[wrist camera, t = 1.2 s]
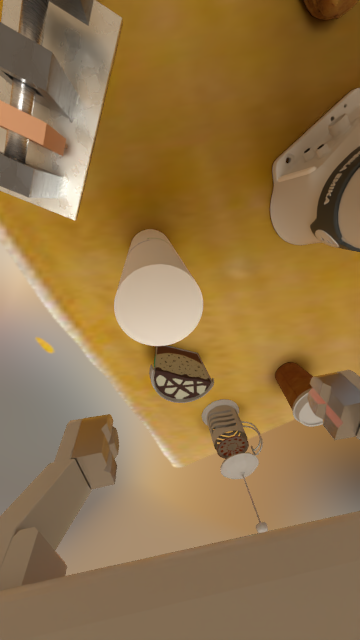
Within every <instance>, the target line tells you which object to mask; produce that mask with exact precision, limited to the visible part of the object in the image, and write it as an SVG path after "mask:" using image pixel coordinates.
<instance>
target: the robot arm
mask: <svg viewBox="0 0 360 640" xmlns="http://www.w3.org/2000/svg"><path fill="white" fill-rule="evenodd" d="M287 158H288V159H289V162H288V163H286V159H287ZM272 173H273V182H274V188H273V193H272V198H271V205H270V214H271V220H272V224H273V226H274V229H275V231H276V232H277V234H278V235H279V236H280V237H281V238H282V239H283V240H285V241H286V242H288V243H291V244H295V245H307V244H312V243H324V244H327V245H329V246H332V247H336V248H342V249H346V250H352V251H357V252H360V88H356V89H353V90H351V91H350V92H349V93H348V94H347V95H345V96H344V97H343V98H342V99H341V100H340V101H339V102H338V103H337V104H336V105H335V106H333V107H332V108H331V109H330V110H329V111H328V112H327V113H326V114H325V115H324V116H323V117H322V118H320V119H319V120H318V121H317V122H316V123H315V124H314V125H313V126H312V127H311V128H310V129H308V130H307V131H306V132H305V133H304V134H303V135H302V136H301V137H300V138H299V139H298V140H297V141H295V142H294V143H293V144H292V145H291V146H290V147H289V148H288V149H287V150H286V151H285V152H284V153H282V154H281V155H280V156H279V157H278V158H277V159H276V160H275V162H274V163H273V167H272ZM310 385H311V386H312V387H313V388H312V389H311V390H310V391H309V392H308V403H309V406H310V408H311V410H312V411H313V413H314V414H315V415H316V416H317V417H319V418H321V419H323V425H324V427H325V428H326V429H327V431H328V432H329V433H330V435H331V436H332V437H333V438H334V440H337V439H343V438H349V437H355V436H357V438H358V439H360V377H359V376H358V375H357V374H356V373H355V372H353V371H351V370H346V371H341V372H336V373H330V374H325V375H320V376H314V377H312V379H311V381H310ZM112 425H113V419H112V417H111V415H110V414H108V415H102V416H96V417H89V418H84V419H78V420H72V421H70V422H69V423H68V424H67V427H66V429H65V432H64V435H63V438H62V441H61V443H60V446H59V449H58V452H57V455H56V458H55V461H54V463H50V464H49V465H48V466H47V467H46V468H45V469H44V470H43V471H42V472H41V474H39V476H38V477H37V478H36V479H35V480H34V481H33V482H32V483H31V484H30V485H29V486H28V487H27V488H26V489H25V491H24V492H23V493H22V494H21V495H20V496H19V497H18V498H17V499H16V500H15V501H14V502H13V503H12V504H11V505H10V507H9V508H8V509H7V510H6V511H5V512H4V513H3V514H2V515H1V516H0V640H360V511H357V512H353V513H348V514H343V515H339V516H334V517H330V518H325V519H321V520H317V521H312V522H307V523H303V524H298V525H294V526H290V527H285V528H280V529H276V530H271V531H266V532H262V533H257V534H253V535H249V536H244V537H240V538H235V539H230V540H226V541H222V542H217V543H212V544H208V545H203V546H199V547H194V548H190V549H186V550H181V551H176V552H172V553H167V554H163V555H158V556H154V557H149V558H145V559H140V560H135V561H131V562H127V563H122V564H118V565H113V566H108V567H104V568H99V569H95V570H90V571H86V572H81V573H77V574H72V575H68V576H65V574H66V569H67V565H66V564H65V562H64V561H63V560H62V558H61V557H60V556H59V555H58V554H57V552H56V551H55V550H56V548H57V547H58V545H59V543H60V542H61V540H62V538H63V537H64V535H65V534H66V532H67V530H68V529H69V527H70V525H71V524H72V522H73V520H74V519H75V517H76V516H77V514H78V512H79V511H80V509H81V507H82V506H83V504H84V502H85V500H86V499H87V497H88V496H89V494H90V492H91V489H96V488H100V487H104V486H109V485H113V484H115V479H116V469H117V465H116V462H115V458H116V456H117V455H118V450H119V440H118V434H117V430H116V428H114V427H113V426H112Z"/></svg>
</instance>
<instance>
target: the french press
mask: <svg viewBox="0 0 360 640" xmlns="http://www.w3.org/2000/svg"><path fill="white" fill-rule="evenodd" d="M238 413H239V407H238V406H237V404H236V403H235V402H233V401H231V400H223V399H222V400H218V401H214V402H213V403H211V404H209V405H208V406H207V407H206V408H205V409H204V411H203V414H202V420H203V422H204V423H205V424H206V425H208V426H209V430H210V433H211V436H212V440H213V443H214V447H215V449H216V450H217V452H218V455H219V456H220V457H222V458H225V459H226V460H224V462H223V463H222V465H221V474H222V475H223V476H225V477H227V478H231V479H242V478H244V481H245V477H246V476H249V475H250V474H251V473H252V472H253V471H254V470H255V469H256V467H257V466H258V459H257V457H256V456H255V455H258V454H259V452H260V451H261V449H262V438H261V436H260V433H259V431H258V429H257V428H256V427H255V425H253V424H252V423H249V422H242V421H241V420H240V418H239V416H238ZM241 422H242V423H249V424H251V425H253V426H254V427H255V428H256V429H257V430H256V429H254V428H253V427H250V426H243V425H242V423H241ZM236 424H237V425H236ZM242 426H243V427H249V428H252V429H254V430H255V431H256V432H257V433H258V435H259V438H260V441H259V444H258V447H259V445H260V443H261V448H260V451H259V452H258V453H257V454H255V452H254V451H255V450H257V448H258V447H257V448H256V449H253V448H252V446H251V449H252V451H253V453H254V455H253V454H251V453H245V452H246V451H247V449H248V446H249V445H248V441H247V436H246V434H245V431H244V429H243V427H242ZM213 429H215V430H213ZM233 430H234V431H233ZM237 430H238V432H237V434H236V435H235V436H233V437H229V438H228V437H223V436H220V435H221V434H222V435H227V436H230V435H233V434H234V433H235V432H236V431H237ZM228 431H233V432H231V433H225V432H228ZM239 433H241V434H240V436H238V435H239ZM217 438H222V439H225V440H223V441H222V440H217ZM217 442H221V443H220V444H217ZM245 484H246V487H247V489H248V486H247V483H246V481H245ZM248 492H249V489H248ZM249 495H250V497H251V494H250V492H249ZM251 500H252V497H251ZM252 503H253V500H252ZM253 506H254V509H255V511H256V508H255V505H254V503H253ZM256 514H257V511H256ZM257 517H258V520H259V522H260V519H259V516H258V514H257ZM256 529H257V531H258V533H262V532H266V531H267V524H266V523H265V522H263V523H261V522H260V523H259V524H257V525H256Z"/></svg>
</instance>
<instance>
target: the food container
mask: <svg viewBox="0 0 360 640" xmlns="http://www.w3.org/2000/svg"><path fill="white" fill-rule="evenodd" d="M149 374H150V379H151V382H152V385H153V387H154V389H155V390H156V392H157V393H158V394H159V395H160V396H161V397H162V398H164V399H166V400H168V401H171V402H177V403H185V402H191V401H194V400H197V399H199V398H201V397H203V396H204V395H205V394H207V393H208V392H209V391H210V389H211V388H212V387H213V385H214V379H213V378H212V380H211V378H210V376H209V374H208V372H207V370H206V368H205V366H204V364H203V362H202V360H201V358H200V356H199V354H198V353H196V352H192V351H188V350H184V349H180V348H176V347H172V346H167V345H165V346H156V348H155V359H154V369H153V367H152V365H151V366H150V373H149Z"/></svg>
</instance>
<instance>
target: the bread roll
mask: <svg viewBox="0 0 360 640" xmlns="http://www.w3.org/2000/svg"><path fill="white" fill-rule="evenodd" d="M303 1H304V3H305V5H306V7H307V9H308V10H309V12H310V14H311V15H313V17H316V18H318V19H322V20H330V19H333V18H339V17H340V16H341V15H343V14H345V13H346V12H348V11H349V10H350V9H351V8H352V7H353V6H354V5H355V4H356V3H357V2H358V1H359V0H303Z"/></svg>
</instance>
